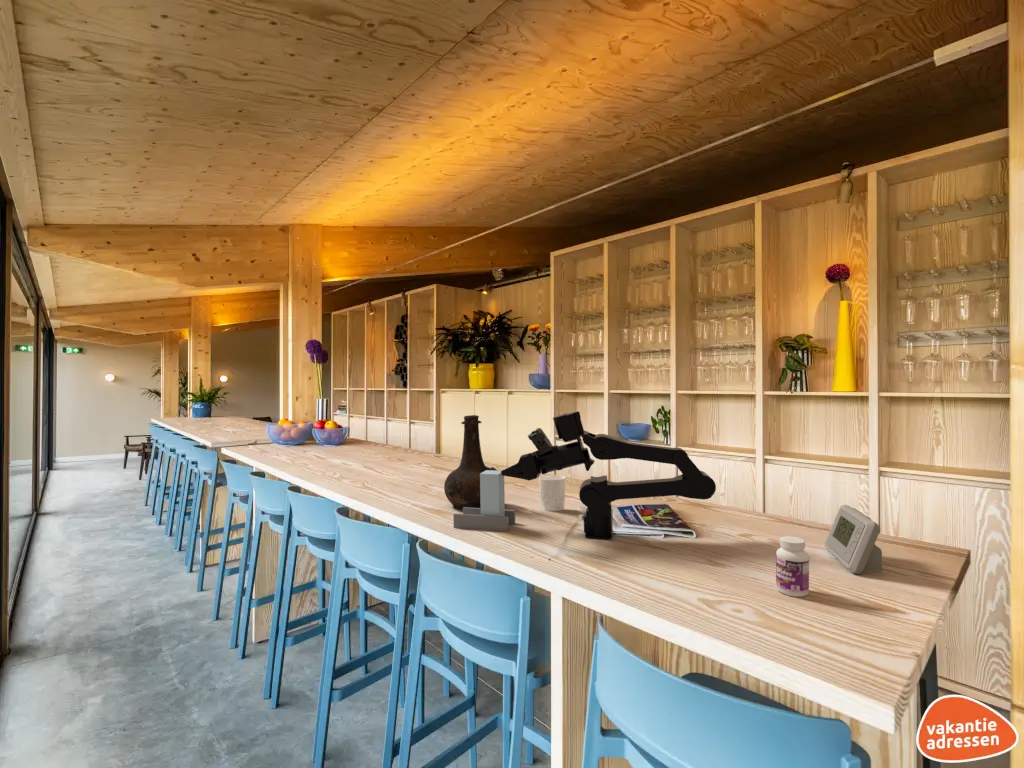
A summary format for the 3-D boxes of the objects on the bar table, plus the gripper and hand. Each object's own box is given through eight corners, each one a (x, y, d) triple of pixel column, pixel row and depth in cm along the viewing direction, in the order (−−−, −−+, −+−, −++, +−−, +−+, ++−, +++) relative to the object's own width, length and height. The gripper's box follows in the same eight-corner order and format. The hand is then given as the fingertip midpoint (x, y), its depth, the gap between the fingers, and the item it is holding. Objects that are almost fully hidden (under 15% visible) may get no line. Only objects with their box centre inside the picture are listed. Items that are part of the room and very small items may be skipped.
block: (505, 523, 142) (504, 470, 141) (499, 529, 137) (498, 474, 136) (487, 522, 143) (486, 470, 143) (480, 527, 138) (479, 473, 138)
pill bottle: (771, 591, 98) (771, 539, 98) (781, 583, 102) (781, 533, 102) (803, 600, 94) (803, 546, 94) (813, 591, 98) (813, 539, 98)
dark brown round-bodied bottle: (502, 515, 153) (500, 417, 153) (440, 515, 154) (438, 418, 153) (504, 500, 171) (503, 412, 171) (449, 500, 172) (447, 413, 171)
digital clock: (823, 548, 121) (823, 501, 121) (870, 553, 117) (870, 505, 117) (832, 573, 106) (832, 520, 106) (887, 580, 103) (887, 525, 102)
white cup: (566, 507, 160) (565, 474, 160) (566, 515, 153) (565, 480, 152) (539, 507, 161) (539, 474, 161) (538, 514, 153) (537, 479, 153)
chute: (515, 526, 142) (515, 510, 142) (507, 534, 135) (507, 517, 135) (464, 522, 146) (464, 507, 146) (453, 530, 139) (453, 514, 139)
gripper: (562, 424, 144) (508, 439, 148) (548, 426, 126) (487, 443, 130) (573, 464, 143) (518, 478, 147) (560, 472, 125) (499, 488, 129)
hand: (506, 471), depth 138 cm, fingers open, 9 cm apart
